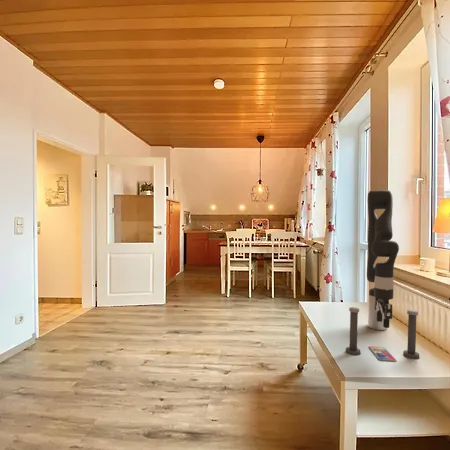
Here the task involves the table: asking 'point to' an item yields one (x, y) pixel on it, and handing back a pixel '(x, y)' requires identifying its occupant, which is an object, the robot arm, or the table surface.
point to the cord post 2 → (411, 335)
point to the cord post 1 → (353, 332)
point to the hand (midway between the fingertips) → (382, 324)
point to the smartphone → (382, 354)
